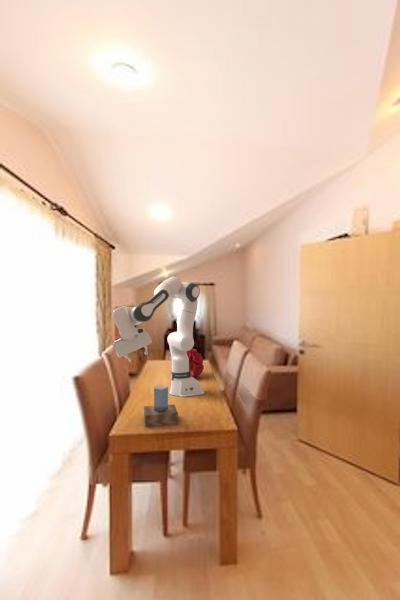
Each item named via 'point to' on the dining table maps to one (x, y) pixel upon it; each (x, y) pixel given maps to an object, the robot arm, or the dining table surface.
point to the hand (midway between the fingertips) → (139, 358)
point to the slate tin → (161, 398)
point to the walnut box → (160, 416)
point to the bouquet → (195, 362)
